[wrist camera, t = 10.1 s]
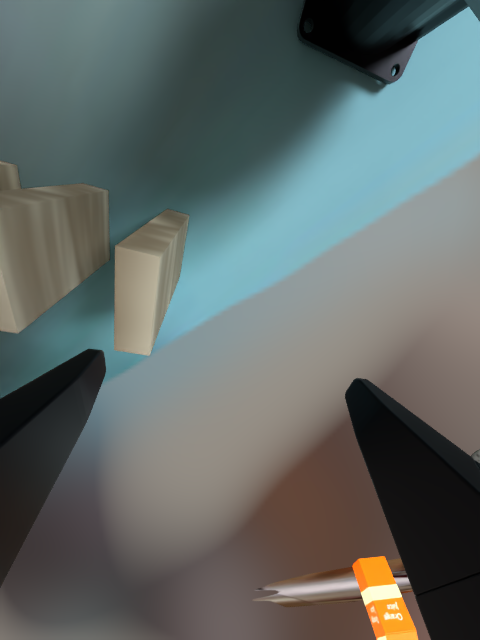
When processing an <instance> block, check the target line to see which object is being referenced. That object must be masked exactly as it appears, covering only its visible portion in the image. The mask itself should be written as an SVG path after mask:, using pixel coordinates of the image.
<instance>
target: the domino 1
mask: <svg viewBox="0 0 480 640" xmlns="http://www.w3.org/2000/svg"><path fill="white" fill-rule="evenodd" d="M109 260H110V243H109V190H105V189H102V188H98V187H95V186H91V185H87V184H84V183H81V184H69V185H58V186H47V187H36V188H25V189H13V190H2V191H0V331H5V332H12V333H19V332H21V331H22V330H23V329H24V328H26V327H27V326H28V325H29V324H31V323H32V322H33V321H34V320H36V319H37V318H38V317H39V316H41V315H42V314H43V313H44V312H46V311H47V310H48V309H49V308H51V307H52V306H53V305H54V304H55V303H57V302H58V301H59V300H60V299H62V298H63V297H64V296H65V295H67V294H68V293H69V292H70V291H72V290H73V289H74V288H75V287H77V286H78V285H79V284H80V283H82V282H83V281H84V280H85V279H87V278H88V277H89V276H90V275H92V274H93V273H94V272H95V271H96V270H98V269H99V268H100V267H101V266H103V265H104V264H105V263H106V262H108V261H109Z"/></svg>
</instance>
